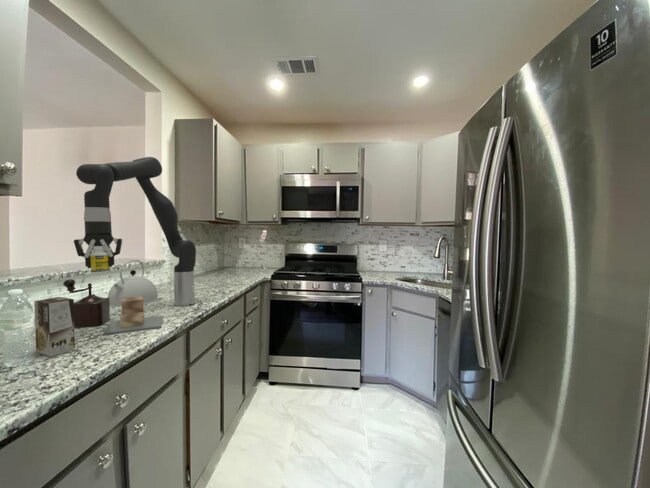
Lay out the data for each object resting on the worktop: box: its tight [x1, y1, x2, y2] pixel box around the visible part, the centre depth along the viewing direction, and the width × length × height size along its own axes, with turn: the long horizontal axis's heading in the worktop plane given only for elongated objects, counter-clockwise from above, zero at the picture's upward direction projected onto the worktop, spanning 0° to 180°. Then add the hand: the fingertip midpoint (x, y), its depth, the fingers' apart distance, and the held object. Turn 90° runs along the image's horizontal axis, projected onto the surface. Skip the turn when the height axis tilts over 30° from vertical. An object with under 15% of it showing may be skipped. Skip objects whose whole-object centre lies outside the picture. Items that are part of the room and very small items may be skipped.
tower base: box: [119, 311, 145, 328], centre depth 113 cm, size 7×7×5 cm
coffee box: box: [33, 296, 76, 357], centre depth 89 cm, size 9×6×16 cm
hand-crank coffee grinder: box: [62, 278, 111, 329], centre depth 115 cm, size 16×11×18 cm
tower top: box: [121, 296, 145, 315], centre depth 113 cm, size 7×7×5 cm
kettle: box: [107, 259, 159, 308], centre depth 153 cm, size 25×23×23 cm
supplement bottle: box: [90, 246, 111, 275], centre depth 103 cm, size 5×5×10 cm
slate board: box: [102, 315, 164, 336], centre depth 114 cm, size 18×16×1 cm
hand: (100, 267), depth 103 cm, fingers closed on supplement bottle, 5 cm apart
